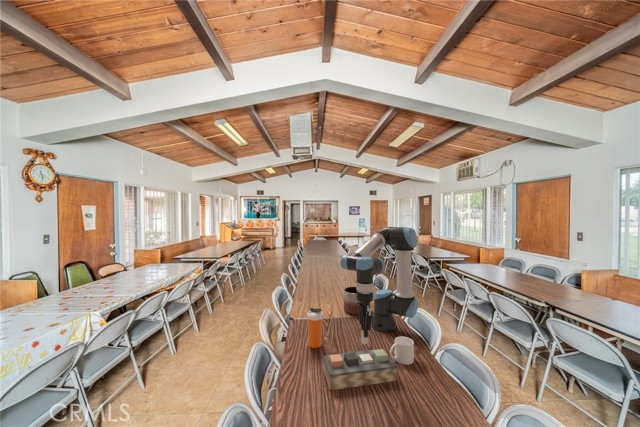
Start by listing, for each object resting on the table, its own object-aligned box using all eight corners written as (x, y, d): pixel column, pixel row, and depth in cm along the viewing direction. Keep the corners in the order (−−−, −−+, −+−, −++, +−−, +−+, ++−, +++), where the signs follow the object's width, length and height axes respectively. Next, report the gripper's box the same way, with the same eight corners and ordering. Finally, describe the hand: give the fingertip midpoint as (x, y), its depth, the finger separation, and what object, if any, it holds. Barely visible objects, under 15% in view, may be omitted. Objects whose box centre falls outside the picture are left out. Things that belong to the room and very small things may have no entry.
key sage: (382, 357, 118) (382, 349, 118) (387, 363, 113) (387, 355, 113) (372, 358, 117) (372, 350, 117) (377, 365, 112) (377, 356, 112)
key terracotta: (340, 362, 114) (340, 354, 114) (343, 369, 109) (343, 360, 109) (329, 364, 113) (329, 355, 113) (332, 370, 108) (332, 361, 108)
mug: (409, 354, 129) (409, 336, 129) (416, 364, 120) (416, 345, 120) (386, 354, 129) (386, 336, 129) (392, 365, 120) (392, 346, 120)
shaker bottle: (321, 350, 133) (321, 313, 133) (305, 348, 135) (305, 311, 135) (324, 341, 142) (324, 306, 142) (309, 340, 144) (309, 305, 144)
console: (382, 361, 123) (382, 348, 123) (396, 380, 109) (396, 365, 109) (323, 369, 117) (323, 355, 117) (330, 390, 103) (329, 374, 103)
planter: (341, 307, 194) (341, 286, 194) (363, 305, 196) (363, 286, 196) (346, 316, 176) (346, 294, 176) (371, 315, 178) (370, 293, 178)
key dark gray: (354, 360, 115) (354, 352, 115) (358, 367, 110) (358, 358, 110) (344, 362, 114) (344, 353, 114) (347, 368, 109) (347, 359, 109)
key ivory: (368, 362, 117) (368, 353, 117) (373, 368, 112) (373, 359, 112) (358, 363, 116) (358, 354, 116) (362, 370, 111) (362, 361, 111)
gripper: (352, 287, 119) (352, 336, 119) (362, 296, 106) (362, 351, 106) (367, 286, 121) (367, 335, 121) (378, 295, 108) (378, 349, 108)
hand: (364, 342), depth 113 cm, fingers closed
